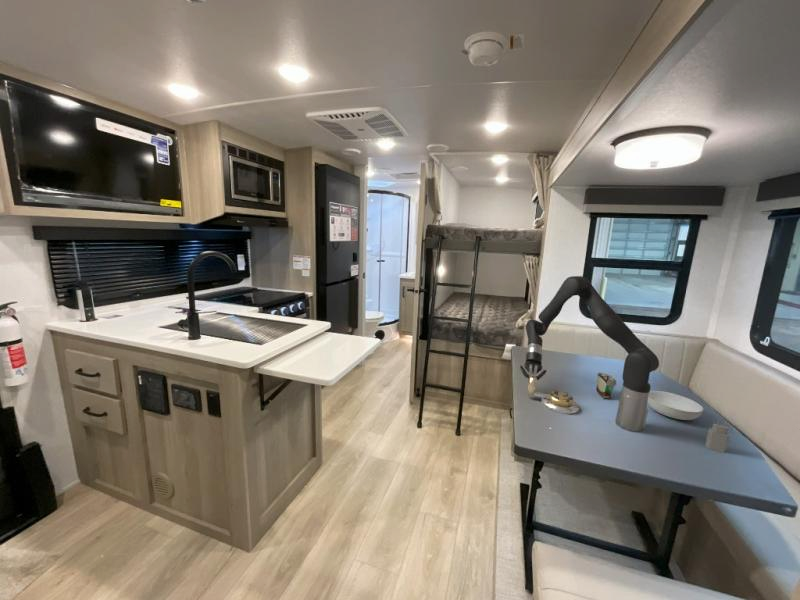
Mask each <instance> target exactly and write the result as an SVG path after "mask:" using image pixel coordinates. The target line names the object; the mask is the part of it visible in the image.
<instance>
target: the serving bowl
mask: <svg viewBox="0 0 800 600" xmlns="http://www.w3.org/2000/svg"><path fill="white" fill-rule="evenodd" d="M647 406H649V407H650V408H651V409H652V410H654V411H655V412H657V413H659V414H661V415H664V416H665V417H668V418H671V419H677V420H683V421H690V420H695V419H698V418H699V417H701V416H702V414H703V412H704V407H703V406H702V404H699V403H698V402H696V401H694V400H693V399H690V398H688V397H686V396H683V395H679V394H676V393H674V392H668V391H662V390H650V393H649V397H648V402H647Z"/></svg>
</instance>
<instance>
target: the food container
mask: <svg viewBox="0 0 800 600" xmlns="http://www.w3.org/2000/svg"><path fill="white" fill-rule="evenodd" d="M616 385H617V380H616V378H615V377H614V376H612V375H610V374H608V373H603V372H597V379H596V386H595V387H596V388H595V391H597V392H596V393H597V394H598V396H600V397H601V399H602V398H603V399H602V400H609V399H611V397H612V394H613V392H614V388H615V386H616Z"/></svg>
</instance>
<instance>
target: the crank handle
mask: <svg viewBox="0 0 800 600" xmlns="http://www.w3.org/2000/svg"><path fill="white" fill-rule="evenodd" d="M537 382H538V380H537V377H535V376H533V375H532V376H530V379H528V383H529V385H527V386H528V388H527V393H526V394H527V396H530V397H539V398H542V397H543V398H547V399H549V401H550V402H551V403H553V404H555V405H557V406H561V407H571V406H572V404H573V401H574V397H573V396H572V395H569V392H566V391H563V392H560V391H559V390H557V389H556V390H555V389H553V391H550V392H549V393H548V394H549V395H548V394H547V393H542V392H539V391H536V387H537Z"/></svg>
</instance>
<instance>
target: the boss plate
mask: <svg viewBox="0 0 800 600" xmlns="http://www.w3.org/2000/svg"><path fill="white" fill-rule="evenodd" d="M549 394H550V393H548V395H549ZM541 404H542V405H543V406H544V407H545V408H547V409H548V410H550V411H553V412H555V413H558V414H561V415H562V414H563V415H577V414H578V413H579V411H580V405H579V404H578V402H577V401H575V400H573V404H572V406H571V407H561V406H557V405H555V404H553V403H551V402H550V401H549V399H547V398H543V397H541Z"/></svg>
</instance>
